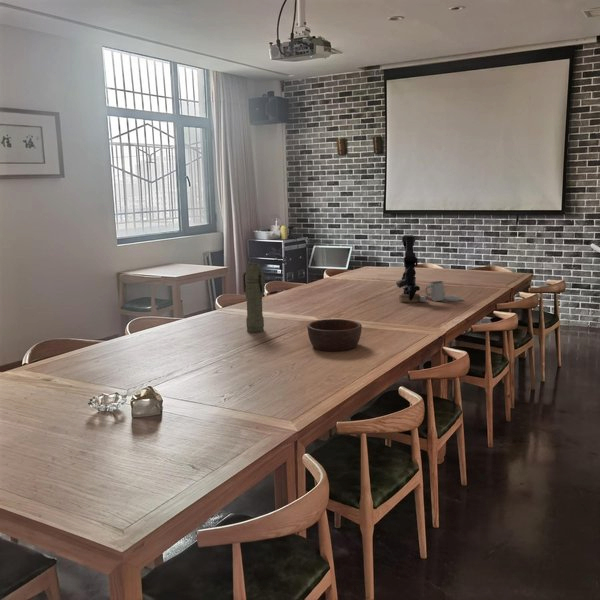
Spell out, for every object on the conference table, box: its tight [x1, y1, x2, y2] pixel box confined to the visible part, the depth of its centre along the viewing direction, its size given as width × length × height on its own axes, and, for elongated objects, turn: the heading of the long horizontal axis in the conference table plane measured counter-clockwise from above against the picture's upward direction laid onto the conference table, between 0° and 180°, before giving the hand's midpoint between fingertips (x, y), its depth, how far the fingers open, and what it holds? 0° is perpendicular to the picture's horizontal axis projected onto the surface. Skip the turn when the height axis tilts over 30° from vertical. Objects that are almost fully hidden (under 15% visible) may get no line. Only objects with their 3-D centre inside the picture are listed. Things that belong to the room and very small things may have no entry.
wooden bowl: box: [307, 318, 363, 352], centre depth 286 cm, size 25×25×10 cm
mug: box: [424, 280, 446, 302], centre depth 391 cm, size 12×8×11 cm
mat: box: [441, 295, 464, 303], centre depth 393 cm, size 15×14×1 cm
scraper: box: [398, 293, 427, 304], centre depth 388 cm, size 11×14×4 cm
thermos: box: [242, 262, 266, 334], centre depth 316 cm, size 9×12×35 cm
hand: (409, 299), depth 388 cm, fingers closed on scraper, 3 cm apart
